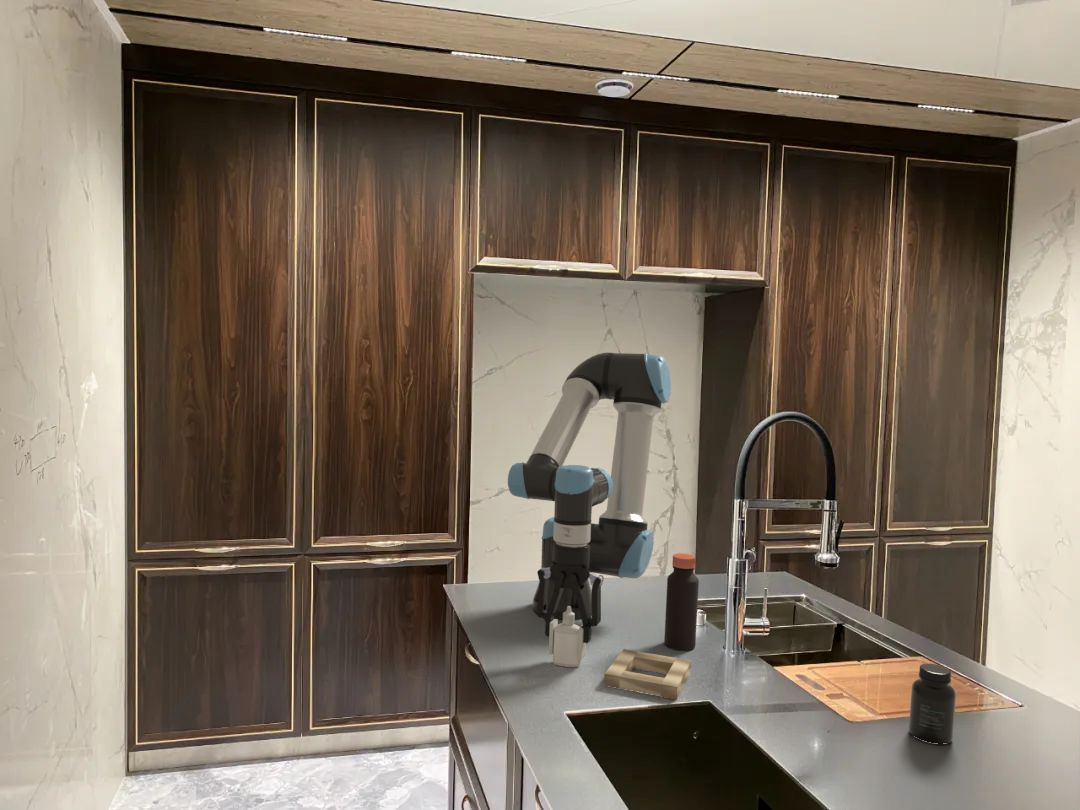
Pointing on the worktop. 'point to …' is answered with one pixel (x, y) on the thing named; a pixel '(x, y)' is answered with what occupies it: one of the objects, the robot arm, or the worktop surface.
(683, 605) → the vinegar
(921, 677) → the supplement bottle
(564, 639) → the eye dropper bottle
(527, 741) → the worktop surface
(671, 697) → the square wooden frame
